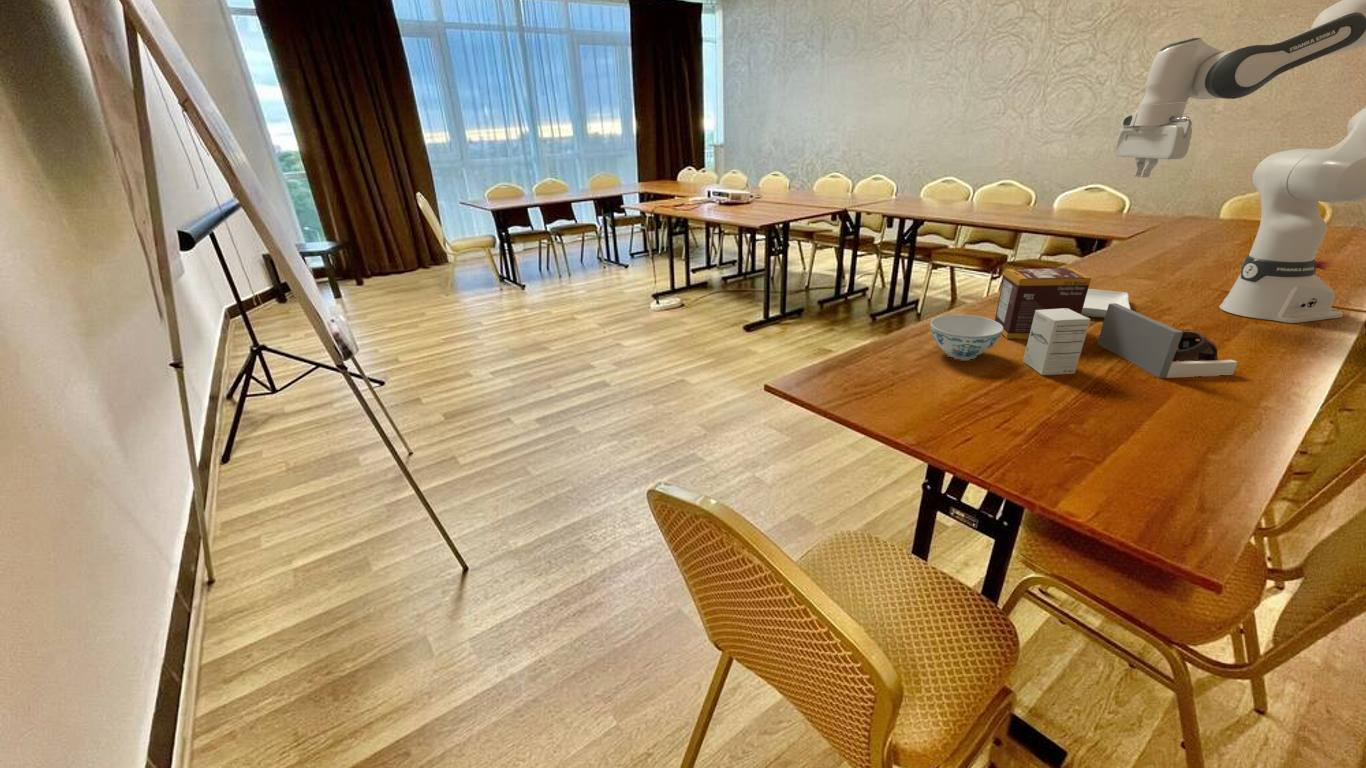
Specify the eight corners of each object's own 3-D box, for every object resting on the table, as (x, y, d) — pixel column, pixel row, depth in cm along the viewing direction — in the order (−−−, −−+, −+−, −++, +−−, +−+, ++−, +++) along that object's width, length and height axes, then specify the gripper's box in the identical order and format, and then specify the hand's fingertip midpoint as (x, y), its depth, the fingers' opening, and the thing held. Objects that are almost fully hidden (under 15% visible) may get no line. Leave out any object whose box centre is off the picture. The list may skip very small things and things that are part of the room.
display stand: (1159, 341, 123) (1173, 300, 119) (1232, 375, 106) (1252, 329, 101) (1097, 343, 124) (1109, 303, 120) (1158, 377, 107) (1175, 332, 103)
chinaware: (1004, 351, 124) (1011, 321, 121) (985, 373, 114) (992, 340, 111) (939, 339, 134) (943, 310, 130) (916, 358, 124) (920, 328, 121)
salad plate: (1037, 295, 161) (1040, 284, 160) (1124, 302, 150) (1128, 291, 148) (1031, 314, 146) (1034, 303, 145) (1128, 324, 135) (1132, 312, 133)
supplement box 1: (1075, 339, 127) (1092, 277, 121) (1006, 339, 131) (1019, 278, 124) (1057, 325, 137) (1072, 267, 130) (992, 325, 140) (1004, 268, 133)
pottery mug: (1227, 377, 106) (1218, 346, 103) (1165, 387, 113) (1156, 358, 110) (1212, 343, 114) (1204, 314, 111) (1156, 354, 121) (1147, 327, 118)
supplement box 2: (1021, 362, 118) (1033, 309, 113) (1055, 360, 118) (1069, 307, 112) (1040, 375, 111) (1054, 320, 106) (1076, 374, 111) (1092, 318, 106)
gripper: (1208, 114, 119) (1187, 179, 125) (1142, 117, 137) (1127, 173, 143) (1178, 117, 119) (1158, 181, 125) (1117, 119, 138) (1102, 175, 144)
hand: (1141, 177), depth 134 cm, fingers closed
